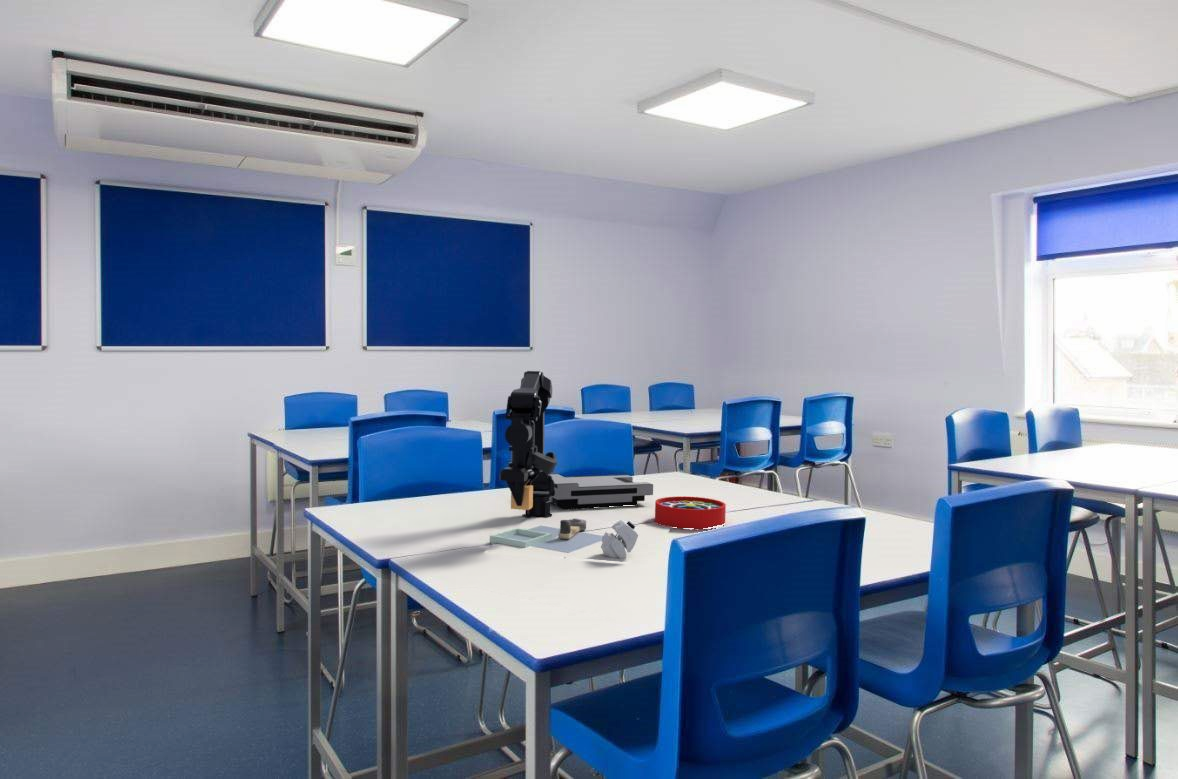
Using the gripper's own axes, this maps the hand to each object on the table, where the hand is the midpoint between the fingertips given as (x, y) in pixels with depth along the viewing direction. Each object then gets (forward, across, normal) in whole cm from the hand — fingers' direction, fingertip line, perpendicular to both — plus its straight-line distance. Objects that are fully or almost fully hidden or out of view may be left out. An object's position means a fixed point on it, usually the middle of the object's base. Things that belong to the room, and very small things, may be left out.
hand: (521, 504), depth 201 cm
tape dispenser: (+10, -8, -26) cm, 29 cm away
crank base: (+10, +4, -7) cm, 13 cm away
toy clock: (+10, +38, -39) cm, 55 cm away
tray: (+10, 0, 0) cm, 10 cm away
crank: (+9, +10, -11) cm, 17 cm away
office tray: (+10, +59, -6) cm, 60 cm away
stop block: (+1, 0, 0) cm, 1 cm away
